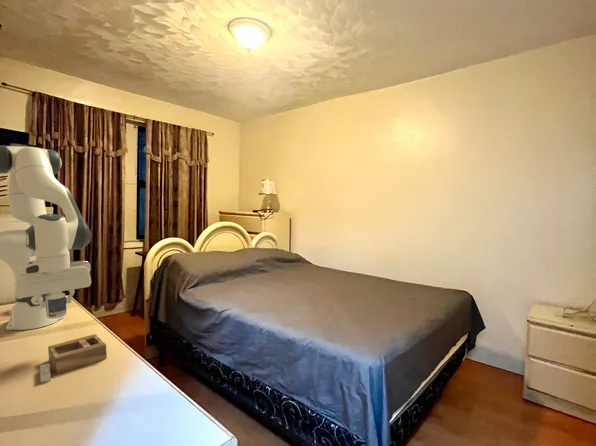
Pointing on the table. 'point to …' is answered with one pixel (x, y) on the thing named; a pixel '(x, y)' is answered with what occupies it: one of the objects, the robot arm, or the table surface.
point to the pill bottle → (55, 304)
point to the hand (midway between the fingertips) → (56, 305)
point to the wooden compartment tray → (76, 353)
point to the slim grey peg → (45, 373)
